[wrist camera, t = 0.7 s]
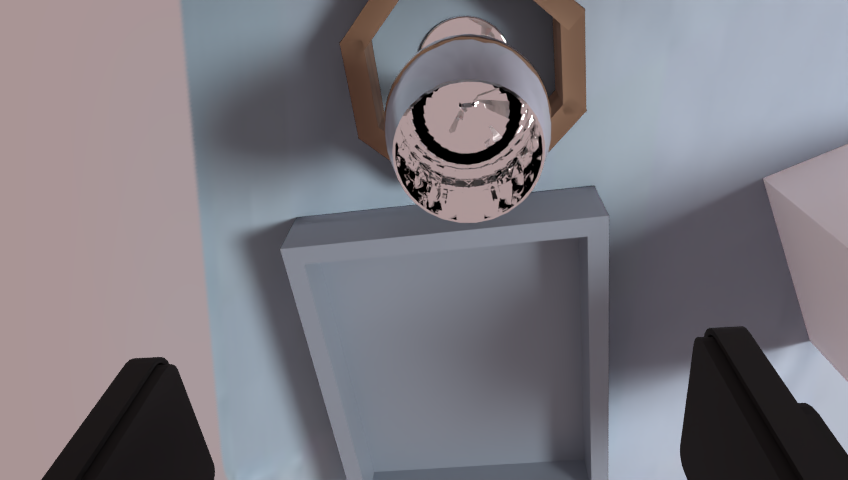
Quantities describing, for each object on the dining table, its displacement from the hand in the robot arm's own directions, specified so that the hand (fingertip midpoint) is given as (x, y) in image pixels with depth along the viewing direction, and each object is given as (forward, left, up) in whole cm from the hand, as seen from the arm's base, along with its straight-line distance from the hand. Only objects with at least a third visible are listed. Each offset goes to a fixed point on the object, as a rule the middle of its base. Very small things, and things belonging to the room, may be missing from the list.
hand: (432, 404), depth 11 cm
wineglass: (-1, -1, -21) cm, 21 cm away
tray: (+1, +16, -21) cm, 26 cm away
